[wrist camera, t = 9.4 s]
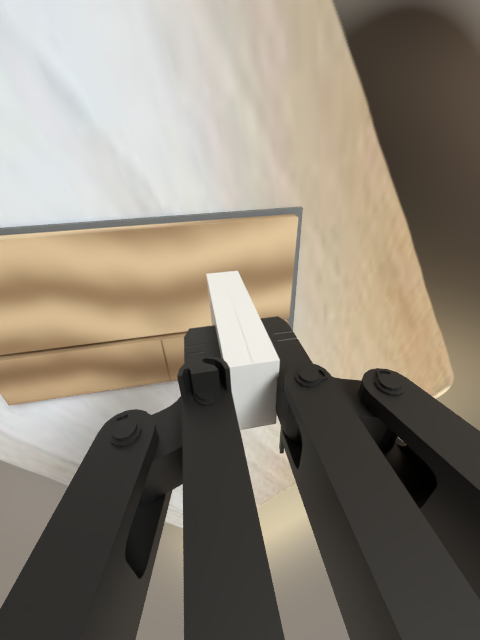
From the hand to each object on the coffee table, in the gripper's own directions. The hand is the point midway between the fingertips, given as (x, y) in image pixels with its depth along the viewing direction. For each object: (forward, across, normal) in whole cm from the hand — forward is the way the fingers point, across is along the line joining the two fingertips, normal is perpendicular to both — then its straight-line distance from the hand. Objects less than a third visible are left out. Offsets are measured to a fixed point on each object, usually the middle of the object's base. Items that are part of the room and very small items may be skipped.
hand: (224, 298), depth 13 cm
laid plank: (+12, -7, -12) cm, 19 cm away
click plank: (+12, -7, -4) cm, 14 cm away
